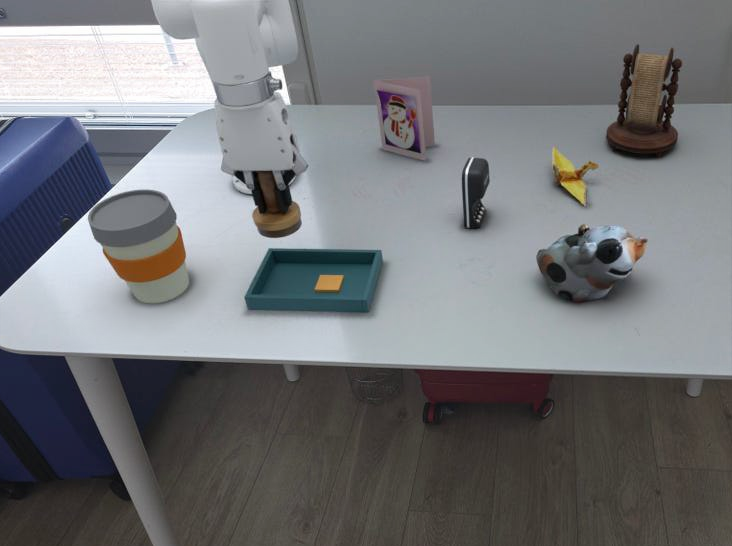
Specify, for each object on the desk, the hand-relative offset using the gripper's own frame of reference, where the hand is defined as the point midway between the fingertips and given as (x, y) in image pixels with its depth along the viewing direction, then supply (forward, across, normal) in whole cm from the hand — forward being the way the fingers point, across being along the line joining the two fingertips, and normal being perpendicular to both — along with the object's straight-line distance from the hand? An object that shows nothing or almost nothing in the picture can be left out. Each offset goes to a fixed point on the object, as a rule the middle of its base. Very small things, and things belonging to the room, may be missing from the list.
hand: (275, 208), depth 105 cm
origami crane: (+15, -46, -34) cm, 59 cm away
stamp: (+3, 0, 0) cm, 3 cm away
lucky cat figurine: (+15, -49, -3) cm, 51 cm away
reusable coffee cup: (+15, +23, +1) cm, 27 cm away
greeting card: (+14, -13, -49) cm, 53 cm away
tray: (+15, -4, 0) cm, 15 cm away
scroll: (+15, -62, -52) cm, 82 cm away
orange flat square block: (+14, -6, 0) cm, 15 cm away
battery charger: (+15, -29, -21) cm, 39 cm away
